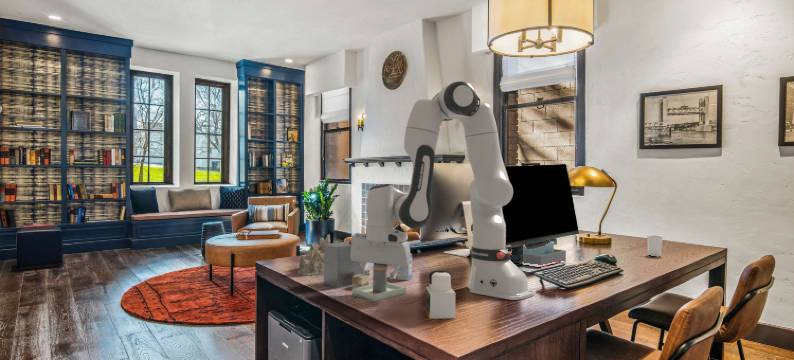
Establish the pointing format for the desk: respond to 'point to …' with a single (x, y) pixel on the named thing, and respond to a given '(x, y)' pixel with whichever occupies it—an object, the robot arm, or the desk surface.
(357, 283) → the maple block
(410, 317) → the desk surface
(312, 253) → the ceramic cottage
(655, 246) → the drinking glass
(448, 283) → the medicine bottle
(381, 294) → the tray
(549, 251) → the squiggly pen holder
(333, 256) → the console
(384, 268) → the cartridge
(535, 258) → the organizer bin
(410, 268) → the medicine box
